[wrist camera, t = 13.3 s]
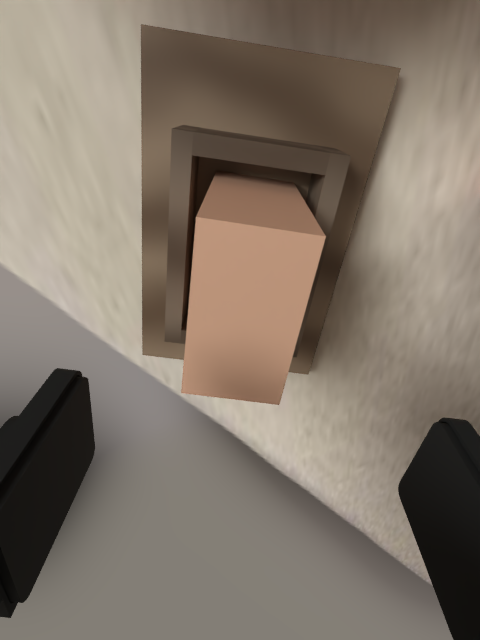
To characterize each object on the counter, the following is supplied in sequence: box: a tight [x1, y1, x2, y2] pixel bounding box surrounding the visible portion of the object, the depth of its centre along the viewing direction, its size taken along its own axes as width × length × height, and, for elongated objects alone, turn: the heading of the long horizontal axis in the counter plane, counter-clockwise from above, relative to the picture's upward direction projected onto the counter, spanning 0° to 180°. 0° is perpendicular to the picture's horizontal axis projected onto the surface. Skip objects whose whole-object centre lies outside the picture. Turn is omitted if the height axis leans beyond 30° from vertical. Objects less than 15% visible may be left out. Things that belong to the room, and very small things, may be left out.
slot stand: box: [141, 24, 401, 374], centre depth 22 cm, size 20×13×5 cm, turn 172°
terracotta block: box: [181, 170, 326, 405], centre depth 19 cm, size 4×8×10 cm, turn 172°
